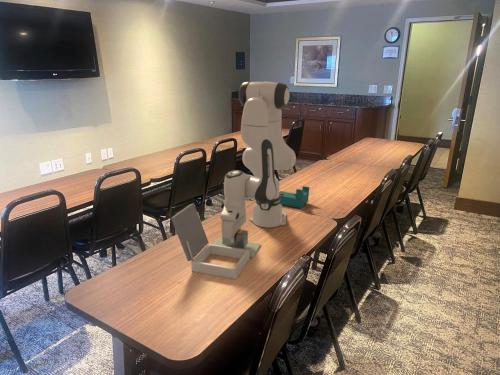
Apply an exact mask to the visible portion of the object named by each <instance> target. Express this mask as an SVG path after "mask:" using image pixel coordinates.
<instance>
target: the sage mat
mask: <svg viewBox="0 0 500 375" xmlns="http://www.w3.org/2000/svg"><path fill="white" fill-rule="evenodd" d="M212 244H214V245H220V246H226V247H233V248H239V249H245V250H249V259H254V256H255V255H256V253H258V250H259V249H260V247H261V246H262V244H261V243H257V242H250V241H248V244H247V245H246V246H245V247H244V248H241V247H235V246H230V245H225V244H222V237H217V239H215V241H214V242H213V243H212Z"/></svg>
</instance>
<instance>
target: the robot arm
mask: <svg viewBox="0 0 500 375" xmlns="http://www.w3.org/2000/svg"><path fill="white" fill-rule="evenodd" d="M238 89H239V90H238V100H239V103H240V104H241V106H243V110H242V116H241V121H240V122H241V124H240V137H241V140H242V142H243V143H244V144H245V145H246V146H247V148H245V150H244V151H243V153H242V155H241V156H242V158H241V159H242V164H243V165H244V166H245V167H246V168H247V169H248V170H249V171H250V172H251V173H252V174H253V175H252V174H247V173H245V172H244V171H242V170H239V169H235V170H231V171H228V172H227V173H226V174H225V176H224V182H223V195H224V201H223V204H224V206H223V209H222V211H221V213H220V217H219V218H220V220H221V237H222V236H223V238H227V239H230V243H234V242H235V238H234V234H235V233H236V232H237V231H238V230H239V229H240V230H242V226H243V225H244V224H245V223H246V220H247V213H246V211H247V210H246V199H250V200H253V201H255V204H254V205H252V206H253V208H252V216H251V217H250V218H249V221H250V222H252V223H253V224H254V226H255V225H256V226H258V227H261V228H267V229H268V228H276V227H280V226H286V224H287V213H286V212H284V211H283V205H282V204H281V203H280V194H279V192H280V185H281V184H280V180H279V179H278V178H277V177H276V176H275V170H276V171H283V170H289V169H292V168H293V167H294V166H295V165H296V162H297V156H296V153H295V151H294V150H293V148H291V147H290V146H289V145H288V144H287V143H286V142H285V139H284V137H283V132H282V131H283V130H282V129H283V128H282V114H283V112H282V109H285V107H286V106H287V105H288V104H289V100H290V96H291V94H290V88H289V87H288V85H287V84H285V83H283V82H276V81H275V82H274V81H265V80H264V81H245V82H243V83H241V84H240V86H239V88H238Z"/></svg>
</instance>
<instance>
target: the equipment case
mask: <svg viewBox="0 0 500 375" xmlns="http://www.w3.org/2000/svg"><path fill="white" fill-rule="evenodd" d="M186 244H187V247H188V250H189V253H190V257H191V262H190V263H191V265H190V266H191V272H195V273H200V274H206V275H211V276H217V277H221V278H226V279H233V280H237V278H238V277H239V275H240V273H241V272H242V271H243V269H244V268H245V266H246V265H247V263H248V262H249V260H250V258H249V250H245V249H239V248H233V247H226V246H220V245H214V244H213V243H208V244H207V245H206V246H205V247H204V248H203V249H202V250H201V251H200V252H199V253H198V254H197V255H196V256H195V257H194V258H193V256H192V253H191V249H190V246H189V243H188V241H186ZM209 255H217V256H222V257H226V258H227V257H229V258H233V259H234V258H235V259H239V260H238V262H237V263H236V265H235V266H234V267H231V266H226V265H220V264H215V263H209V262H204V261H205V260H206V259H207V258H208V256H209Z"/></svg>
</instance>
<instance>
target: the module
mask: <svg viewBox="0 0 500 375" xmlns="http://www.w3.org/2000/svg"><path fill="white" fill-rule="evenodd" d="M248 235H249V231H248V230H244V229H241V230H240V229H239V230H238V231H237V232H236V233H235V234H234V238H235V242H234V243H230V239H227V238H223V236H222V235H221V238H222V244H225V245H230V246H235V247H241V248H244V247H245V246H246V245H247V244H248V242H249V236H248Z"/></svg>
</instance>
